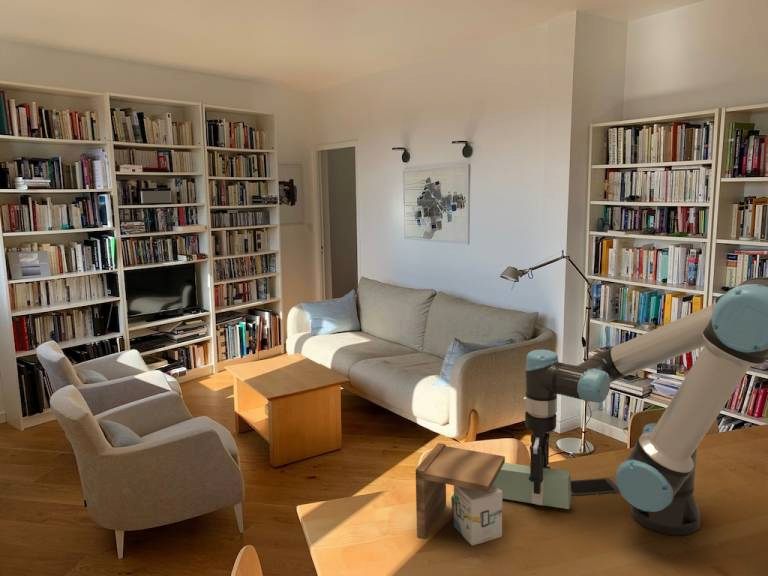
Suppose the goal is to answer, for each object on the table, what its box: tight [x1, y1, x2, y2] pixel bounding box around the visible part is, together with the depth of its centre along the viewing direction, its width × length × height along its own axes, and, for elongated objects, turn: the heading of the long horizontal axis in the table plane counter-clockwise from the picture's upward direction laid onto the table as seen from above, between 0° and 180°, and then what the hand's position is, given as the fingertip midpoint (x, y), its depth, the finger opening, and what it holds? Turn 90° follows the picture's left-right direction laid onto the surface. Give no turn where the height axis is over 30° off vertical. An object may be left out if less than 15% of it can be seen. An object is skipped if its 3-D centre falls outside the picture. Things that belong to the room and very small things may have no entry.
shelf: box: [415, 442, 506, 540], centre depth 138 cm, size 17×15×17 cm
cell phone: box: [571, 477, 619, 497], centre depth 156 cm, size 7×14×1 cm, turn 95°
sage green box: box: [450, 462, 572, 512], centre depth 146 cm, size 27×14×8 cm, turn 64°
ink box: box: [453, 484, 503, 546], centre depth 137 cm, size 8×8×12 cm
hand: (539, 498), depth 149 cm, fingers closed on sage green box, 4 cm apart
